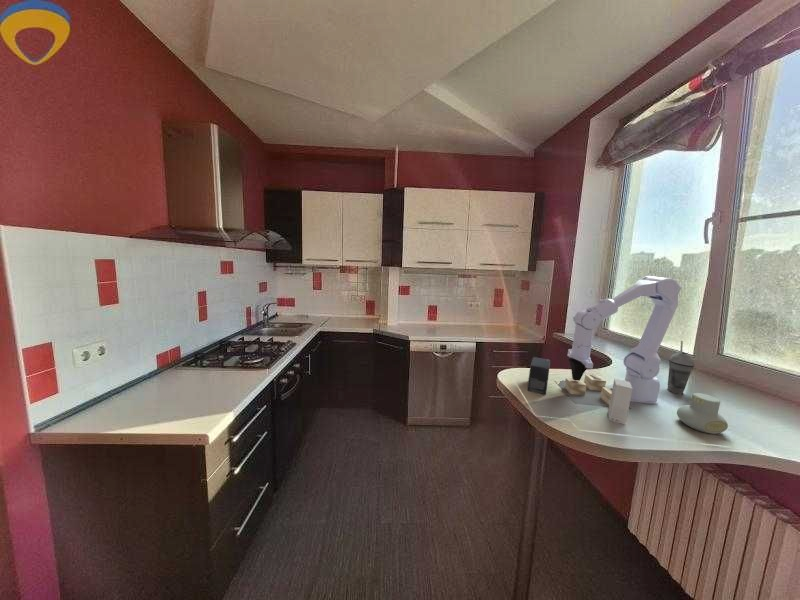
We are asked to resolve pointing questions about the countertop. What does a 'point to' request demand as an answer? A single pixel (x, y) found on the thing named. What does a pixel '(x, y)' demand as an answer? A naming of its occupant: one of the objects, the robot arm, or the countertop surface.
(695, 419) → the air freshener
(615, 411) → the skincare box
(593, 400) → the mat
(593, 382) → the marked block
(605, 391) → the marked block
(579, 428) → the countertop surface
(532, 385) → the small box
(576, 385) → the plain block
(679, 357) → the beverage cup
